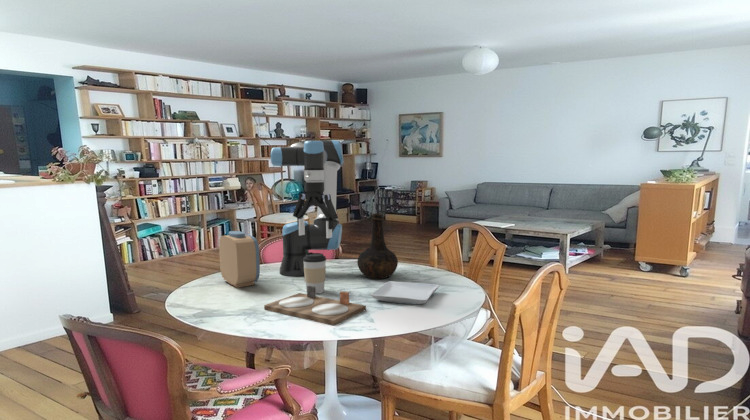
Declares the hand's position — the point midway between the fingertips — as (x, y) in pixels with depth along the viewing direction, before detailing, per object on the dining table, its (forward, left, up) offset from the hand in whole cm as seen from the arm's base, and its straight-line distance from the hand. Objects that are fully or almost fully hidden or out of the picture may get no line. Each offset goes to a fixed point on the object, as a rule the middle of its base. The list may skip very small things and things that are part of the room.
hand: (315, 236), depth 183 cm
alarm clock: (-35, -7, -22) cm, 42 cm away
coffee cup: (0, 0, -22) cm, 22 cm away
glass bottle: (+8, +33, -22) cm, 40 cm away
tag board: (+15, -18, -22) cm, 32 cm away
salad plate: (+34, +12, -22) cm, 42 cm away
